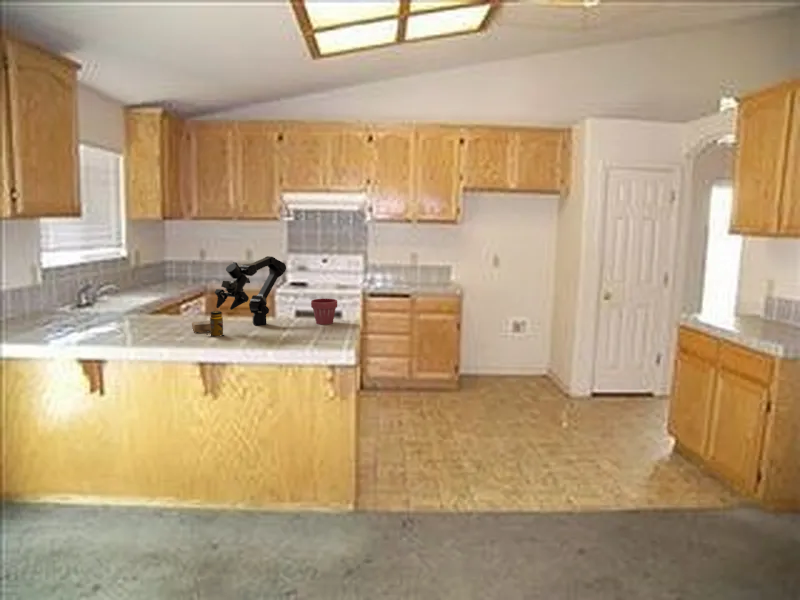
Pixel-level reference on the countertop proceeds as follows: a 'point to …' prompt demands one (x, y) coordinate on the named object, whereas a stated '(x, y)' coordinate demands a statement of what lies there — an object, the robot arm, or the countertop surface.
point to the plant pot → (324, 310)
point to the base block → (201, 326)
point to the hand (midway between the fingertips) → (223, 308)
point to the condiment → (216, 323)
